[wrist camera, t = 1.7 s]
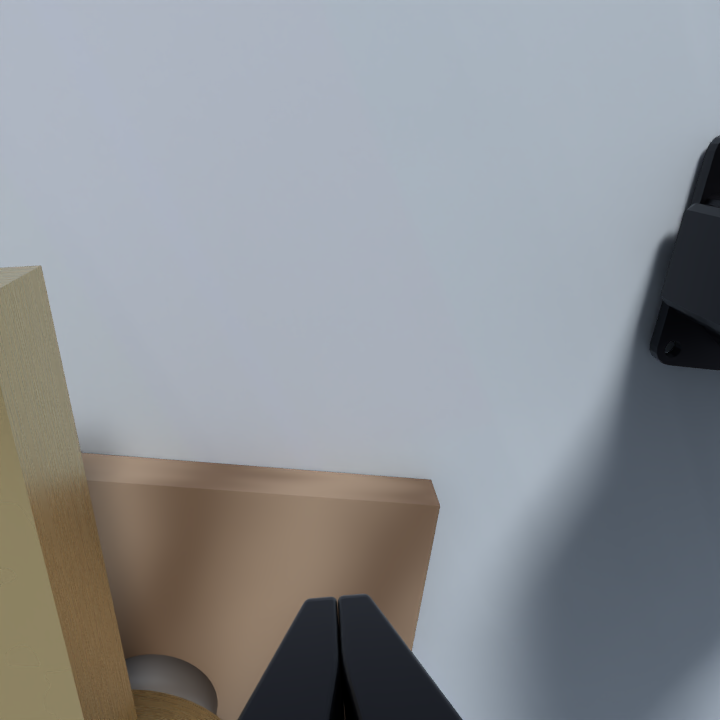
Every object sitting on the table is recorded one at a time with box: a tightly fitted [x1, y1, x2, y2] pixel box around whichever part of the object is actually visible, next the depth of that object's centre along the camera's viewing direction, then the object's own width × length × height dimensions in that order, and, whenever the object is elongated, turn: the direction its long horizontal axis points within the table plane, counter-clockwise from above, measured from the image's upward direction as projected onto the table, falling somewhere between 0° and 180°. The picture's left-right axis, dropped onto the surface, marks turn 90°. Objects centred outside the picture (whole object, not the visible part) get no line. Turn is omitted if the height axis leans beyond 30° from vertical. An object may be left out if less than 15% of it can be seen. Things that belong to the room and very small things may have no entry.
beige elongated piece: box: [0, 266, 221, 720], centre depth 15 cm, size 18×6×4 cm, turn 3°
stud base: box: [81, 453, 440, 720], centre depth 21 cm, size 16×16×4 cm
